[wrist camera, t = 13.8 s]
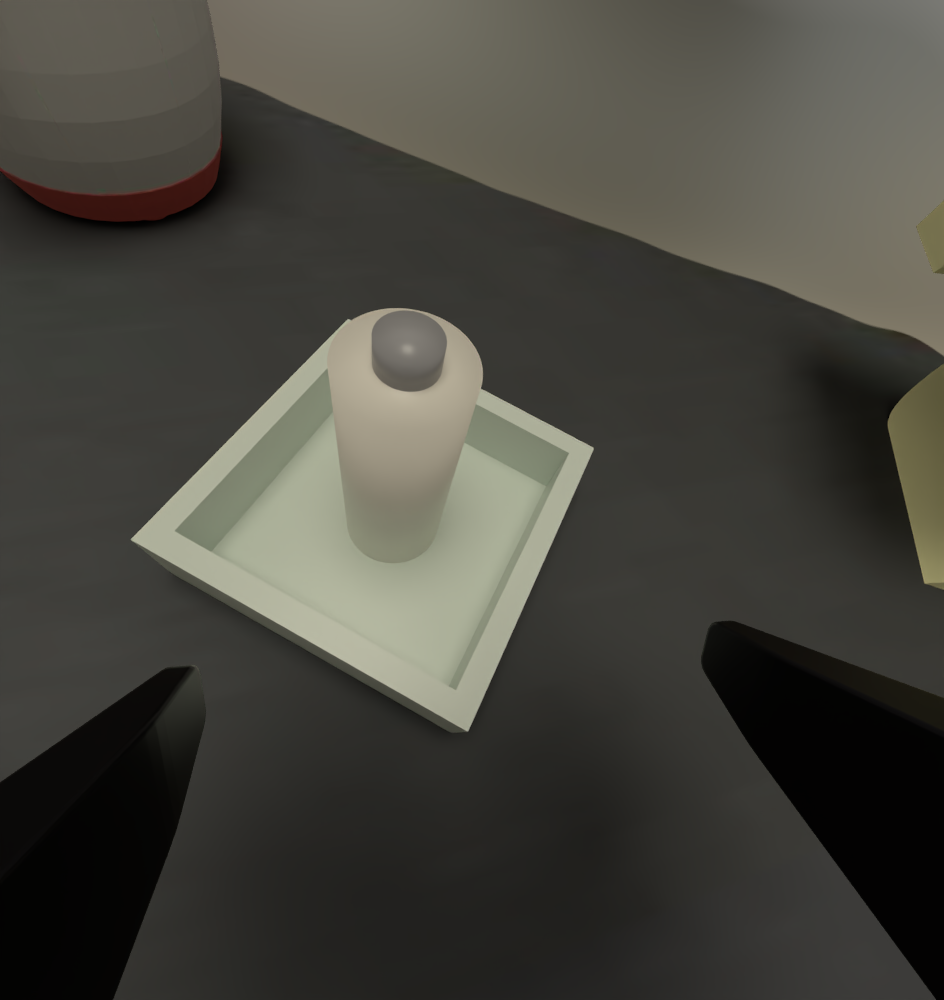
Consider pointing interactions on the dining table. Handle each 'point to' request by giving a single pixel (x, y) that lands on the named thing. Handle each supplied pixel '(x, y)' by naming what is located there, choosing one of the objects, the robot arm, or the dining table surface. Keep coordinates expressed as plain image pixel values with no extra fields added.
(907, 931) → the robot arm
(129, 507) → the dining table surface
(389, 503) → the grey-capped cream cylinder
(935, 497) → the slatted curved stool
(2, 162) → the citrus juicer
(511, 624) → the walled box
